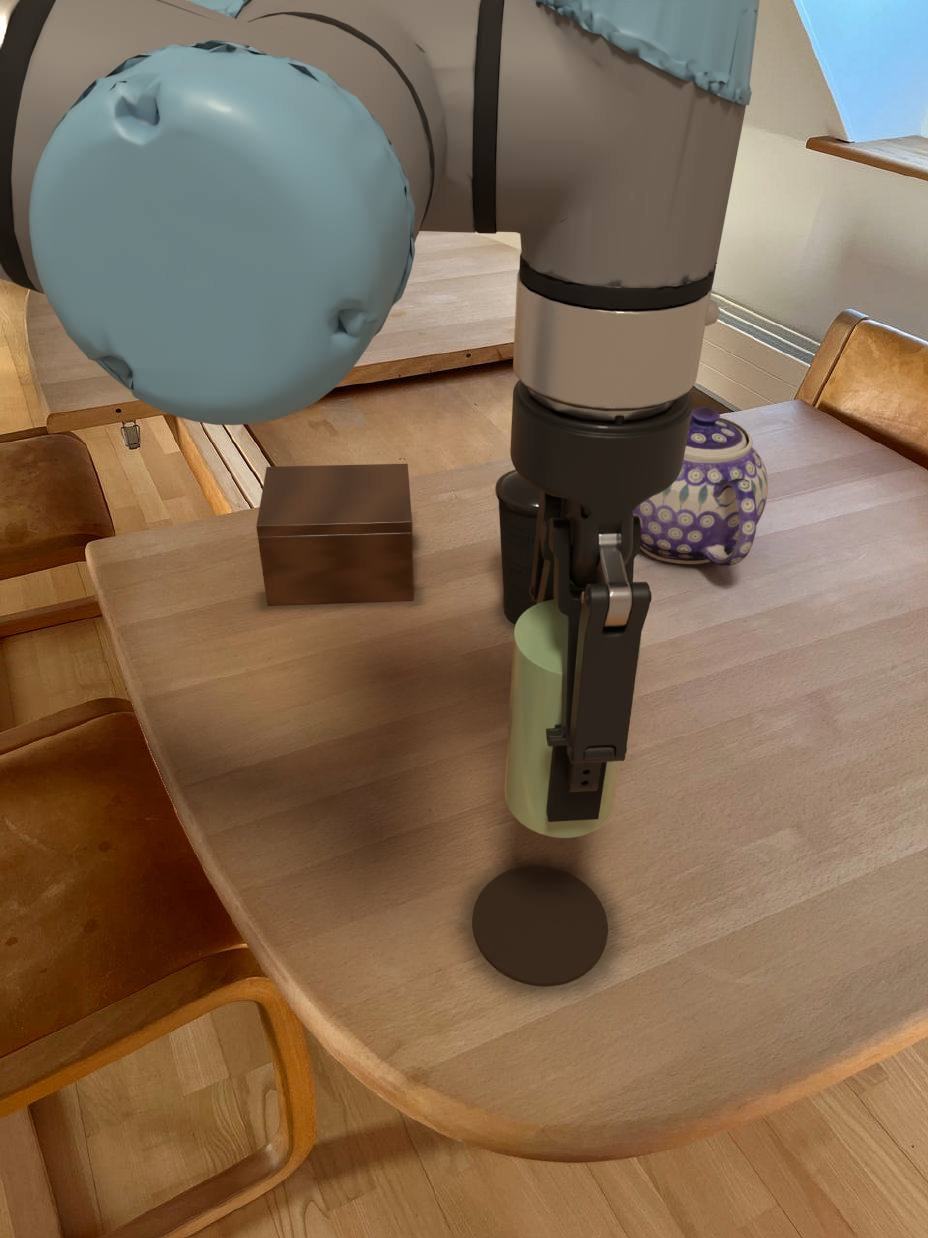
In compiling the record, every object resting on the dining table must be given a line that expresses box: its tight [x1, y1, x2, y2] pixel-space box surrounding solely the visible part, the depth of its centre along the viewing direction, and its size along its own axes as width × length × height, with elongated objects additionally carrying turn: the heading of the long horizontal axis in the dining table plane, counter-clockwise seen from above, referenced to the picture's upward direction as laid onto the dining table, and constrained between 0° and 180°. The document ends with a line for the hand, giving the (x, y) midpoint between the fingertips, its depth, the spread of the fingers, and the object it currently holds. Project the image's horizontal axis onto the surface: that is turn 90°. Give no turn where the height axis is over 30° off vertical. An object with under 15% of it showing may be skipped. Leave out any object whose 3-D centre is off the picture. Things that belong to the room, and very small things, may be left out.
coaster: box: [471, 865, 609, 987], centre depth 62 cm, size 9×9×1 cm
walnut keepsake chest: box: [255, 463, 414, 606], centre depth 92 cm, size 14×11×9 cm
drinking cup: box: [494, 468, 540, 625], centre depth 83 cm, size 8×8×20 cm
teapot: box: [632, 406, 769, 567], centre depth 96 cm, size 25×15×15 cm, turn 9°
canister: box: [504, 599, 642, 839], centre depth 51 cm, size 6×6×12 cm
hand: (561, 766), depth 53 cm, fingers closed on canister, 6 cm apart
